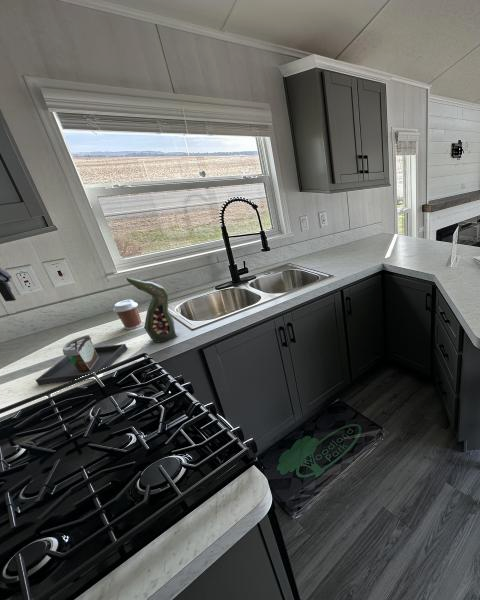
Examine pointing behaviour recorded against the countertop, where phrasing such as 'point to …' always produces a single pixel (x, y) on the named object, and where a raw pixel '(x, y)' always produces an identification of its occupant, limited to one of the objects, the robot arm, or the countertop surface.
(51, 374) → the storage tray
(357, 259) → the countertop surface
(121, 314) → the coffee cup
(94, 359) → the food container
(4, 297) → the robot arm
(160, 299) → the tentacle
